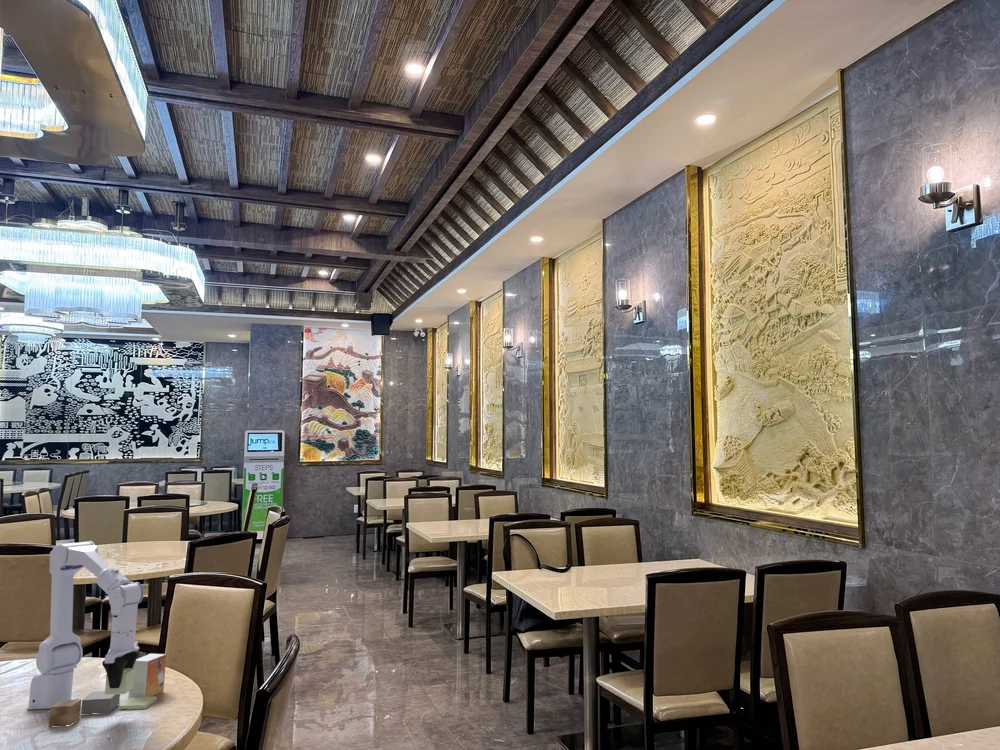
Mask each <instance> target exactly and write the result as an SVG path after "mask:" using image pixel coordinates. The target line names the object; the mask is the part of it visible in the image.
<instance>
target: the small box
mask: <svg viewBox="0 0 1000 750" xmlns="http://www.w3.org/2000/svg"><path fill="white" fill-rule="evenodd" d="M166 660H167V653H165V654H164V653H148V654H146V655H143V656H141V657H137V659H136V661H135V664H134V666H133V668H135V676H134V688H132V689H131V690H130V691H128V697H127V698H128V699H129V698H130V697H150V696H157V695H158V693H159V694H161V693H163V692H164V690H165V677H166V676H165V675H166V674H165V673H166ZM162 691H163V692H162ZM160 692H161V693H160Z"/></svg>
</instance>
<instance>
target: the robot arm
mask: <svg viewBox="0 0 1000 750" xmlns="http://www.w3.org/2000/svg"><path fill="white" fill-rule="evenodd" d="M83 568H85V569H86V570H88V571H89V572H90V573H91V574H93V575H94V576H95V577H96V585H98V587H99V588H101V589H102V590H103V592H105V594H107V596H108V603H109V605H110V613H111V615H112V621H111V633H110V645H109V649H108V651H107V654H105V656H104V660H102V663H101V664H102V666H103V668H104V670H105V672H106V674H107V676H108V681H109V686H110V688H119V686H120V684H121V679H122V674H123V670H124V668H133V666H134V664H135V661H136V659H138V658H139V656H140V654H141V651H140V646H138V645H139V641H138V640H136V635H137V634H136V632H137V620H138V619H137V618H138V606H139V604H140V603H141V602H142V601H143V598H144V593H145V592H144V588H143V586H142V585H141V583H140V582H138V581H136V582H133V581H131V580H129V579H128V578H127V577H126V576H125V575H124V574H123V573H122V572H121V571H120V569H119V568H118V567H109V566H108V565H107V564H106V562H105V561H104V560H103V558H102V557H101V556H100V555H99V549H98V545H96V544H95V542H93V541H92V540H86V541H81V542H71V543H59V544H56V545H55V546H54V547H53V548H52V550H51V551H50V552H49V574H51V592H50V593H51V594H50V597H51V598H50V603H51V604H50V626H49V627H50V633H49V636H48V637H46V639H45V640H43V641H42V642H41V643H40V644H39V645H38V654H37V656H36V659H35V664H36V668H37V670H38V671H36V673H34V675H33V676H32V679H31V681H30V682H31V683H30V689H29V699H28V706H27V707H26V710H44V709H46V710H47V709H49V710H50V707H51V706H52V705H54V704H56V703H57V702H59V701H61V700H78V698H79V697H78V696H73V695H72V694H73V683H74V671H75V670H74V669H77V666H78V664H79V663H80V662H81V660H82V659H83V655H84V654H83V653H84V652H83V651H84V649H83V647H82V643H81V637H80V636H79V635H77V634H75V633H74V632H73V621H74V619H73V618H74V617H73V612H74V576H75V575H76V574H77V573H78V572H79V571H81V570H83Z"/></svg>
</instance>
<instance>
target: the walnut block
mask: <svg viewBox="0 0 1000 750" xmlns="http://www.w3.org/2000/svg"><path fill="white" fill-rule="evenodd" d="M81 708H82V699H80V698H79V699H76V700H61V701H59V702H57V703H56V704H54V705H52V706H51V707H50V709H49V716H48V717H49V718H48V728H53V727H52V726H66V725H71V724H72V723H74V722H75V721H77V720H78V719H79V720H81ZM79 720H78V721H79ZM78 721H77V722H78ZM75 723H76V722H75ZM75 723H74V724H75ZM72 725H73V724H72ZM72 725H71V726H72Z"/></svg>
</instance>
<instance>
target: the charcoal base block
mask: <svg viewBox="0 0 1000 750" xmlns="http://www.w3.org/2000/svg"><path fill="white" fill-rule="evenodd" d="M120 698H121V694H106V695H105V690H98V691H97V690H96V691H95V690H94V691H92V692H90V693H89V694H88V695H87V696H85V697H84V698H83V699H81V710H80V715H81V714H91V715H93V714H92V713H105V714H110V713H112V712H113V711H112V710H113V709H114V708H115V707H116V706H117V705H118V704H119V705H120V702H121V701H120ZM119 705H118V706H119ZM118 706H117V707H118ZM117 707H116V708H117ZM116 708H115V709H116ZM115 709H114V710H115Z"/></svg>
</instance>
